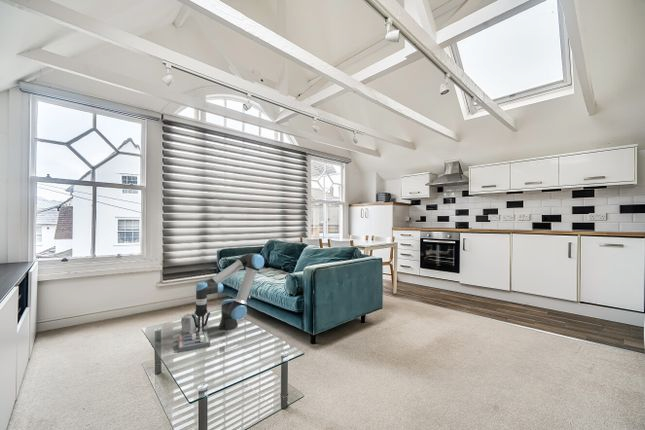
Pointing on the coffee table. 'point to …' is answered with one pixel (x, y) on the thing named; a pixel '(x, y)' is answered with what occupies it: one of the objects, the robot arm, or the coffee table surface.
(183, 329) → the circuit breaker
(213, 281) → the robot arm
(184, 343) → the breaker board
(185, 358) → the coffee table surface
